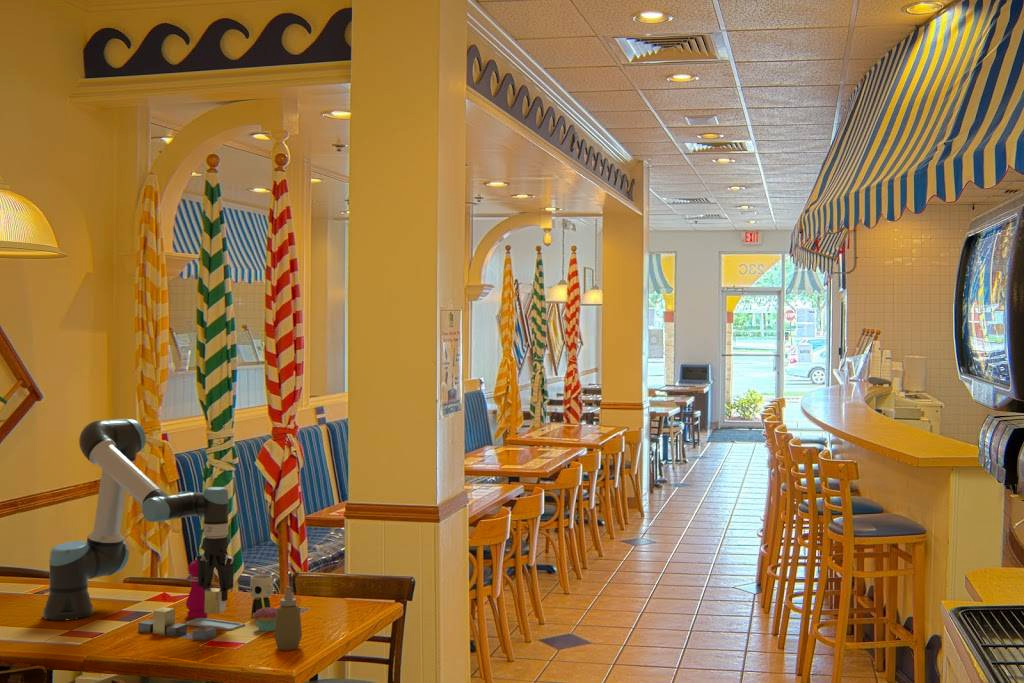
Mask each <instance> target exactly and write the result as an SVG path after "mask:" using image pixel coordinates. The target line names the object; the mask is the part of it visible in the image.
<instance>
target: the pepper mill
mask: <svg viewBox="0 0 1024 683" xmlns="http://www.w3.org/2000/svg"><path fill="white" fill-rule="evenodd" d="M197 556H198V555H196V556H195V560H193V561H191V562H190V564H189V565H188V569H187V570H188V573H189V574H190V576H189V581H190V584H191V585H190V591H189V593H188V596H187V597H186V601H185V607H186V609H188V611H187V616H186V617H187V618H190V619H197V618H205V617H206V618H208V613H205V599H204V589H203V587H201V586H200V587H199V586H198V560H197Z"/></svg>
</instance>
